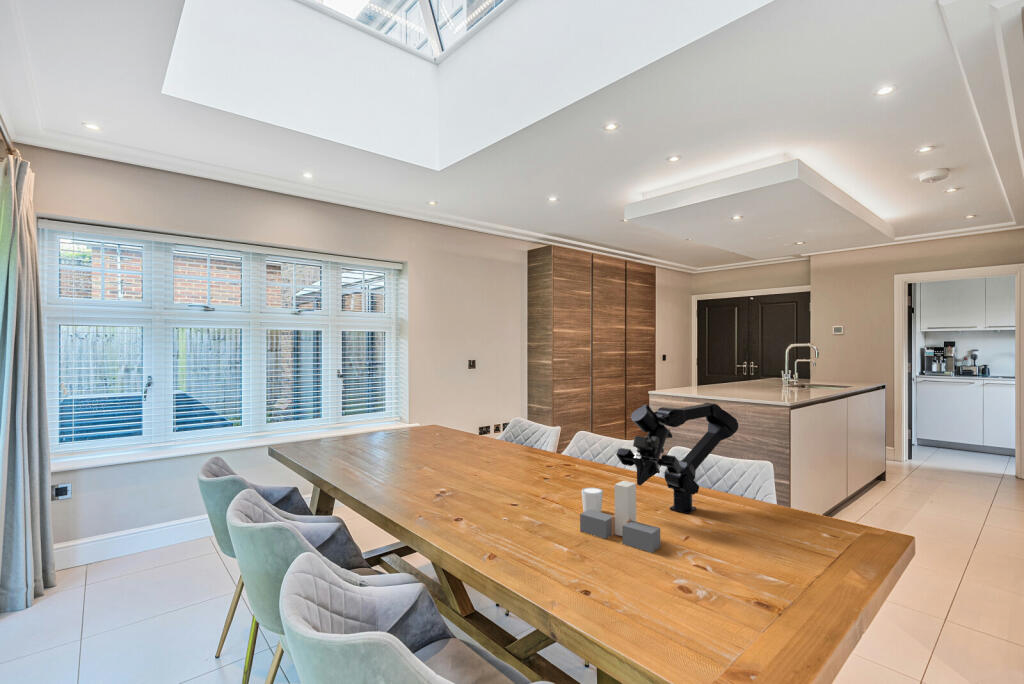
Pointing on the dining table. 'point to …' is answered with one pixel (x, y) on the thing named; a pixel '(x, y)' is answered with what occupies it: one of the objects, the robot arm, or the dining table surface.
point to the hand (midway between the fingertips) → (638, 484)
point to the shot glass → (592, 499)
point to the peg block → (624, 504)
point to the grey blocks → (632, 531)
